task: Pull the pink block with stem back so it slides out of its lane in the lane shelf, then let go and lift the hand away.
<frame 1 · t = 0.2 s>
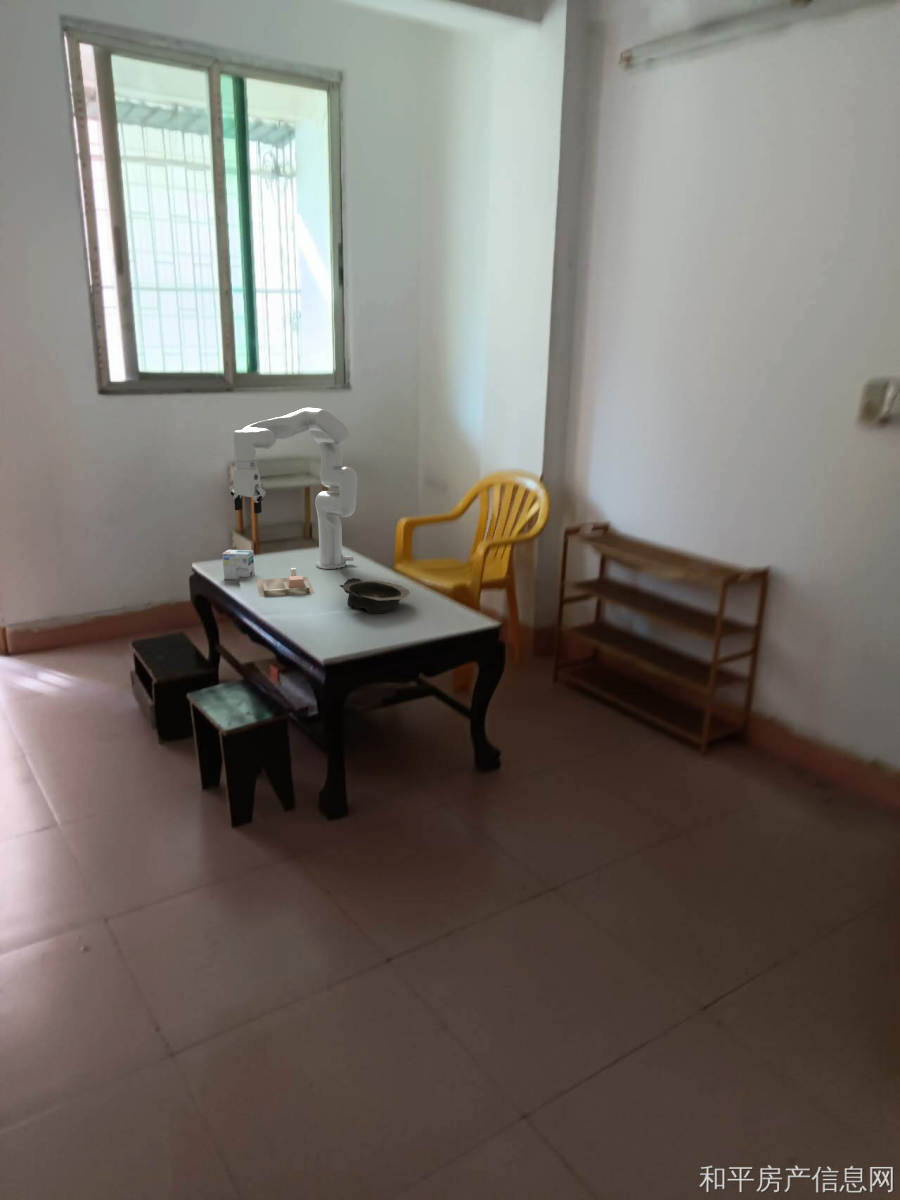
hand: (248, 511, 304), 31 cm above the table, tool pointing down, fingers open, 9 cm apart
pink block with stem: (296, 590, 309), point 1 cm above the table, touching lane shelf
lane shelf: (285, 591, 313), on the table
stone bowl: (376, 607, 297), on the table
light bulb box: (239, 578, 330), on the table
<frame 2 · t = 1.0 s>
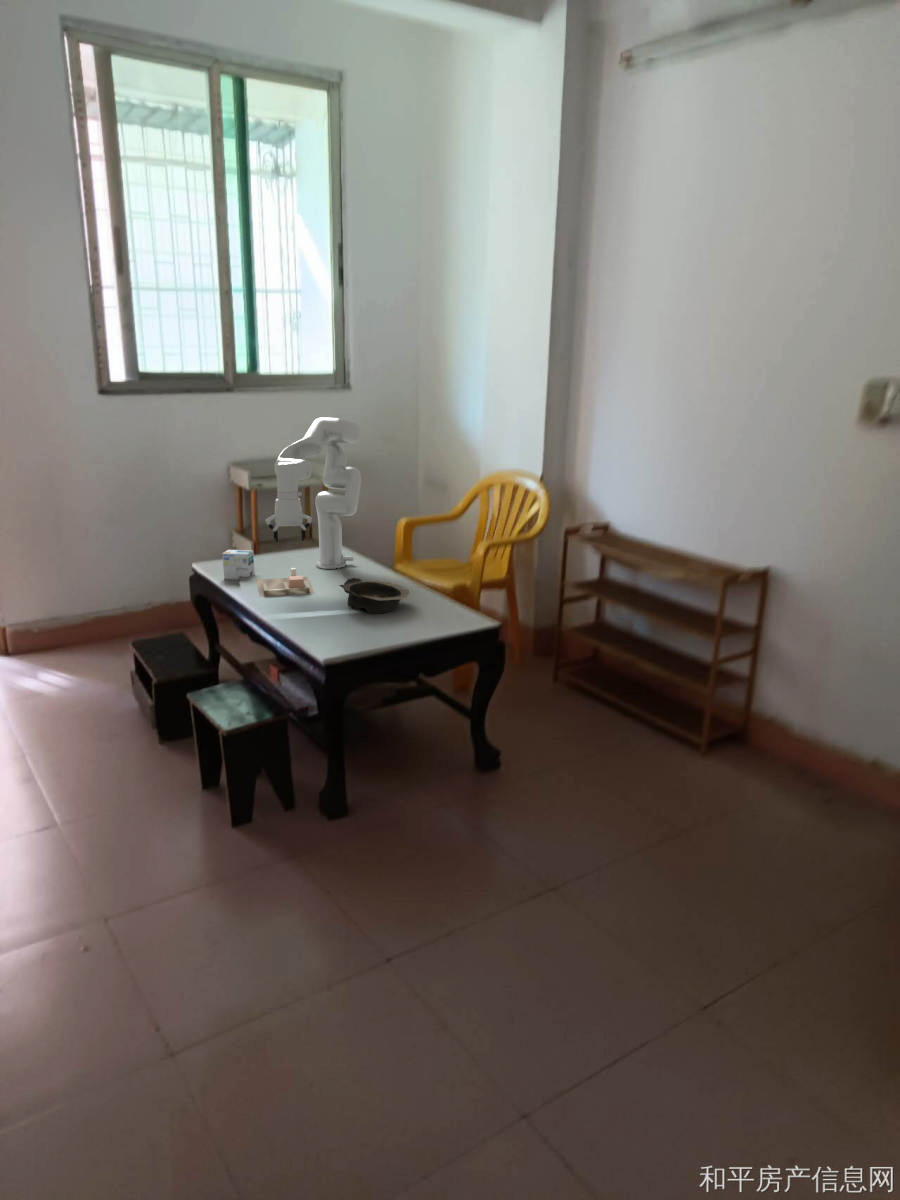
hand: (289, 540, 312), 19 cm above the table, tool pointing down, fingers open, 9 cm apart
nothing on the table moved.
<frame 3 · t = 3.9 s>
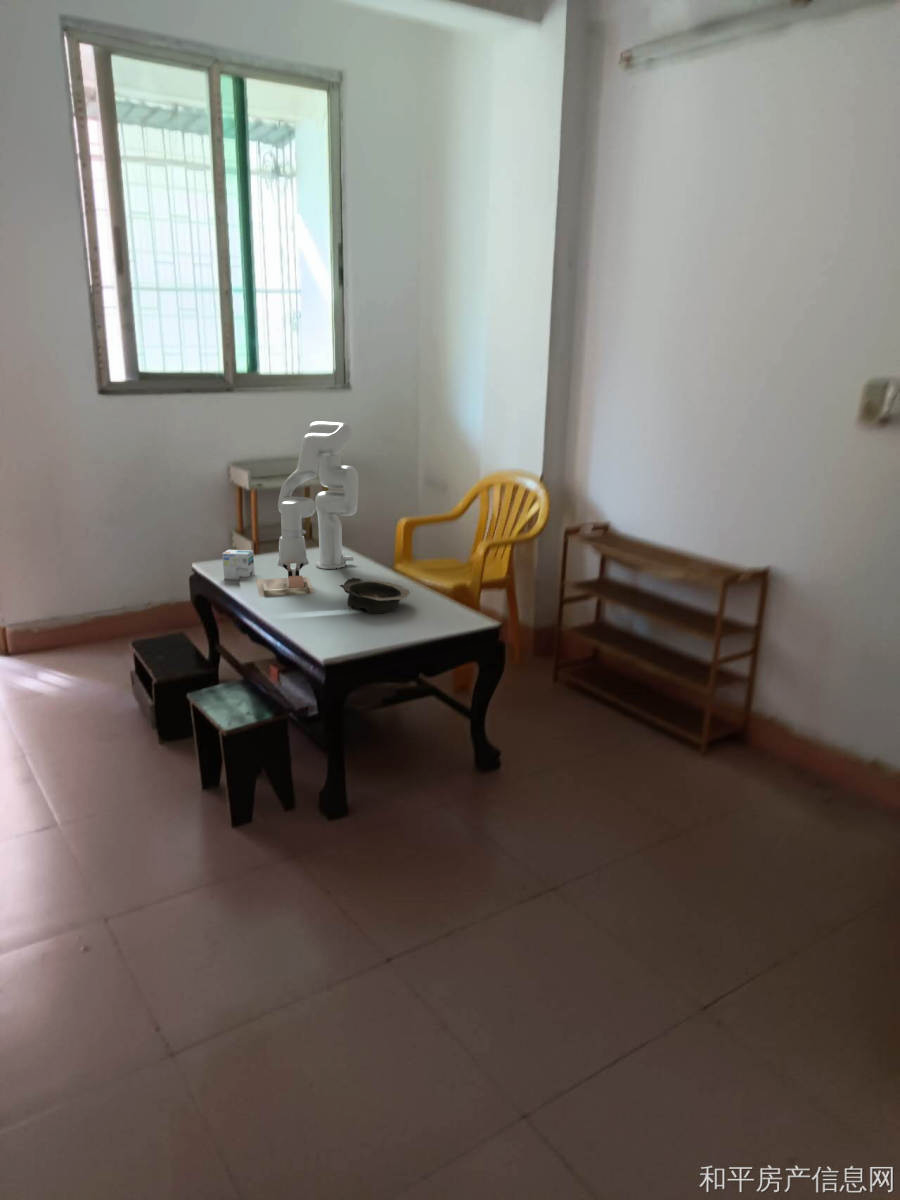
hand: (293, 580, 317), 3 cm above the table, tool pointing down, fingers closed on pink block with stem
pink block with stem: (296, 590, 309), point 1 cm above the table, touching gripper, lane shelf
everything else where it was.
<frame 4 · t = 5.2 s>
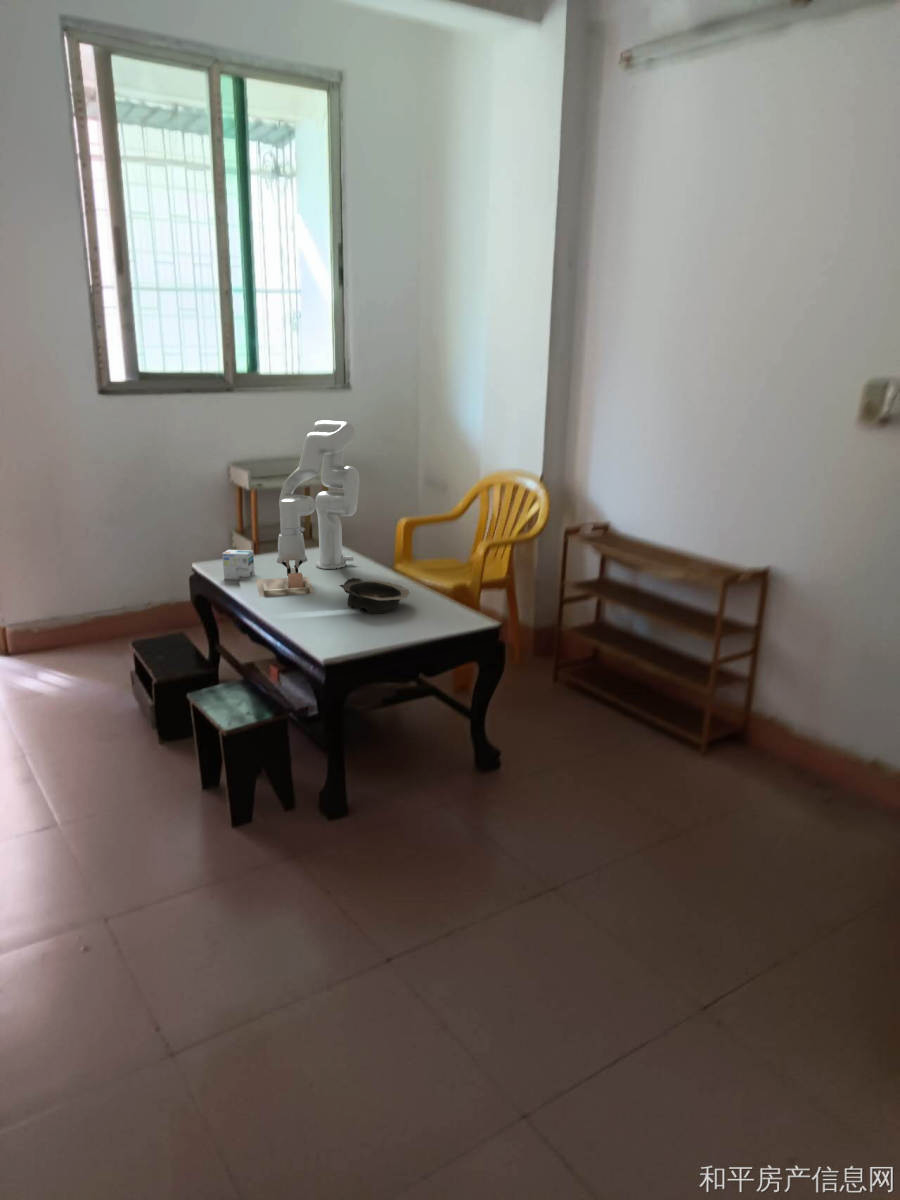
hand: (292, 576, 321), 3 cm above the table, tool pointing down, fingers closed, pressing on pink block with stem
pink block with stem: (296, 587, 312), point 2 cm above the table, tilted 6°, touching gripper, lane shelf
everything else where it was.
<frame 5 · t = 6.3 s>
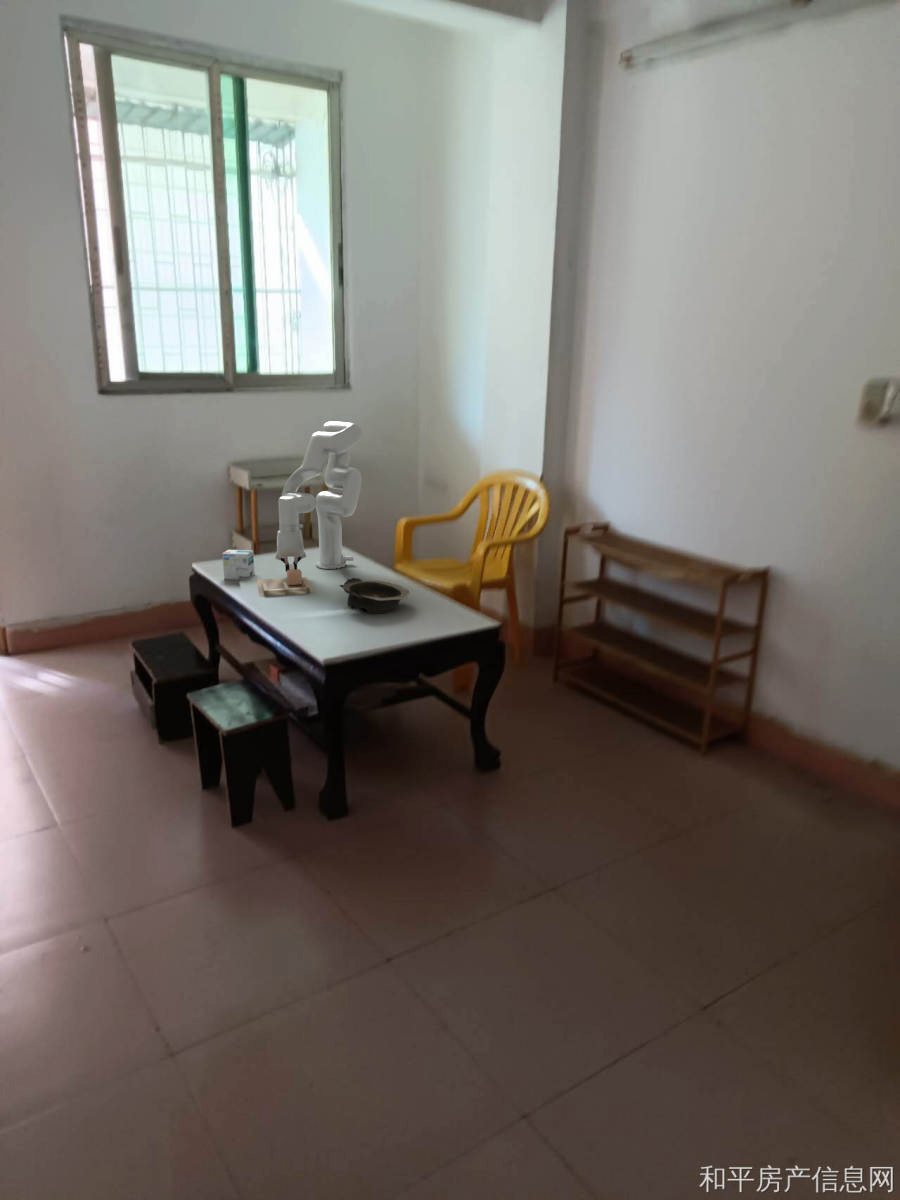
hand: (291, 572, 327), 3 cm above the table, tool pointing down, fingers closed on pink block with stem
pink block with stem: (294, 583, 317), point 2 cm above the table, tilted 7°, touching gripper
everything else where it was.
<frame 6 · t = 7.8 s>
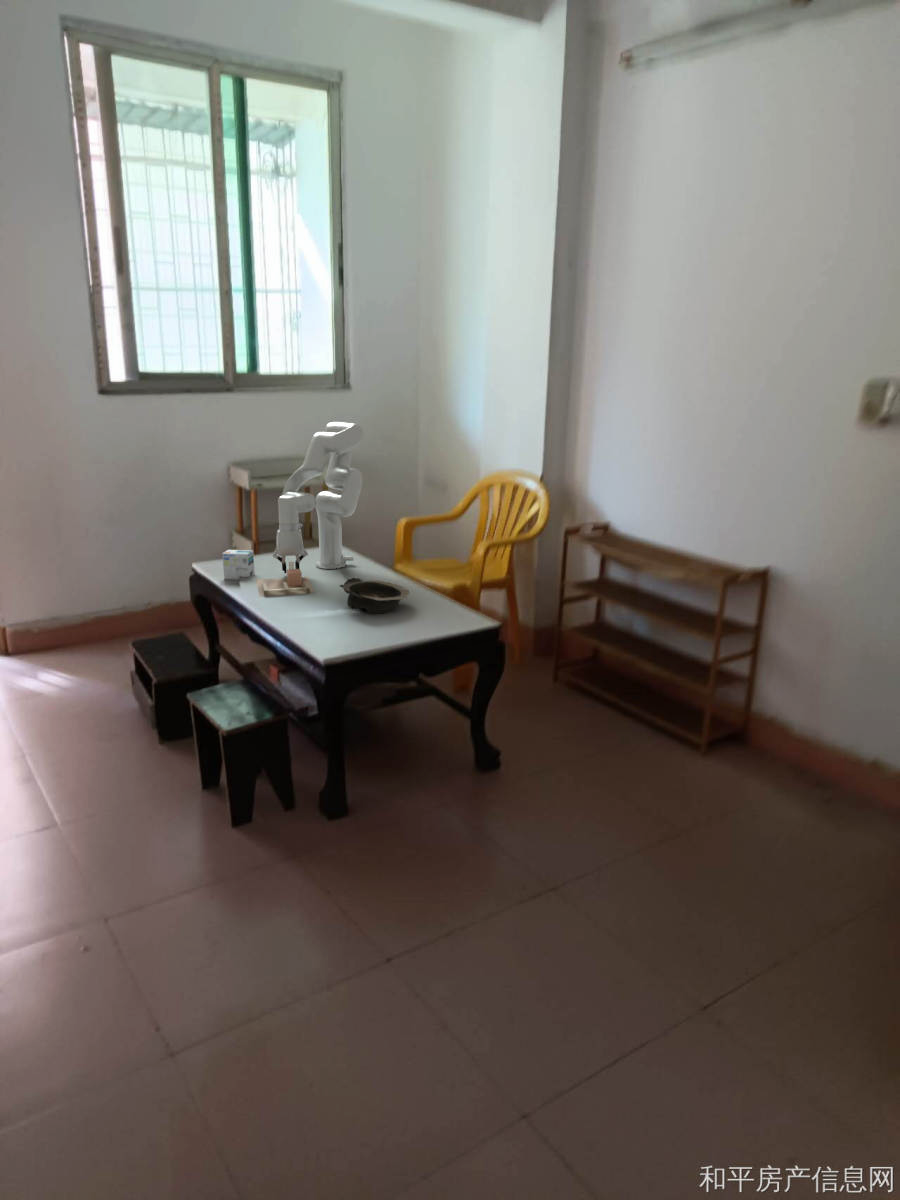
hand: (291, 571, 328), 3 cm above the table, tool pointing down, fingers open, 3 cm apart
pink block with stem: (294, 583, 318), point 1 cm above the table, touching lane shelf
everything else where it was.
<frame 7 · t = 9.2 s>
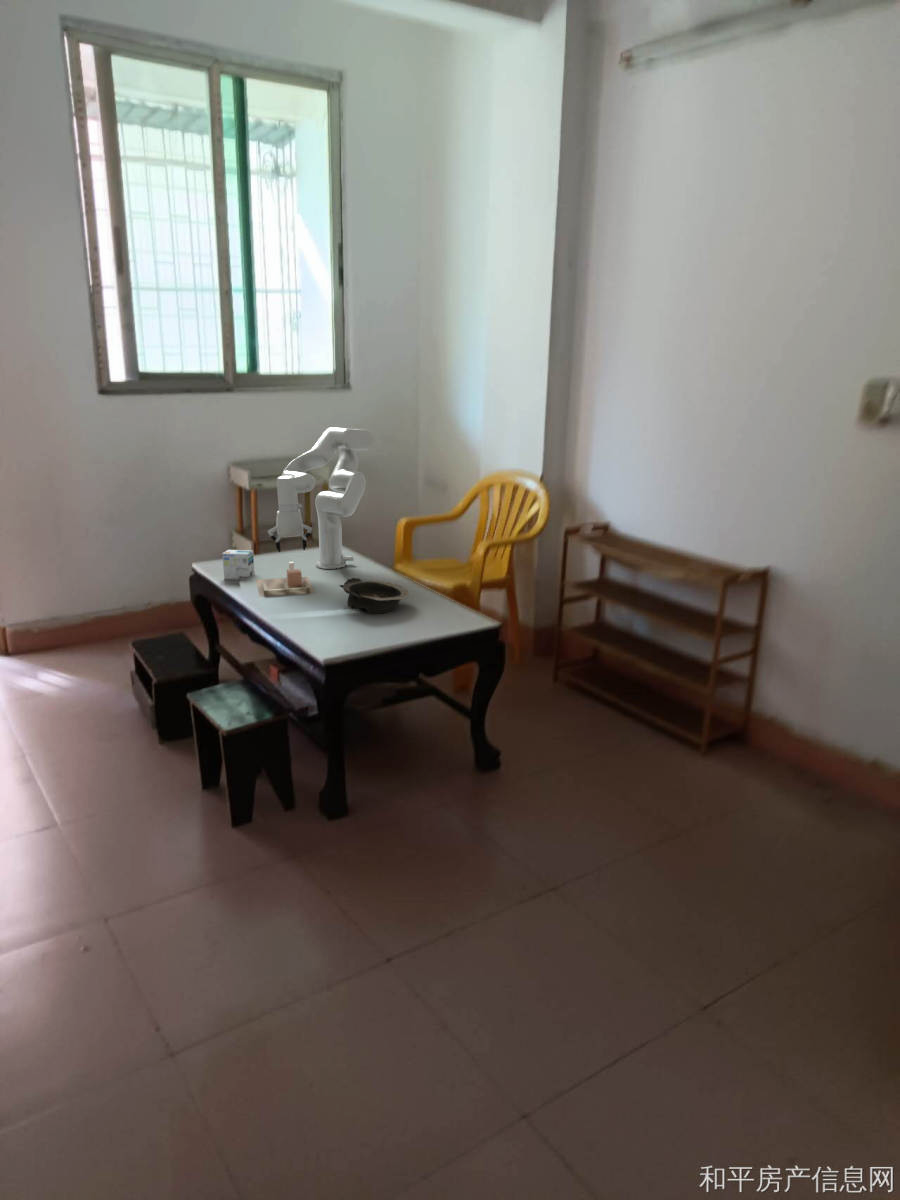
hand: (291, 550, 326), 12 cm above the table, tool pointing down, fingers open, 9 cm apart
nothing on the table moved.
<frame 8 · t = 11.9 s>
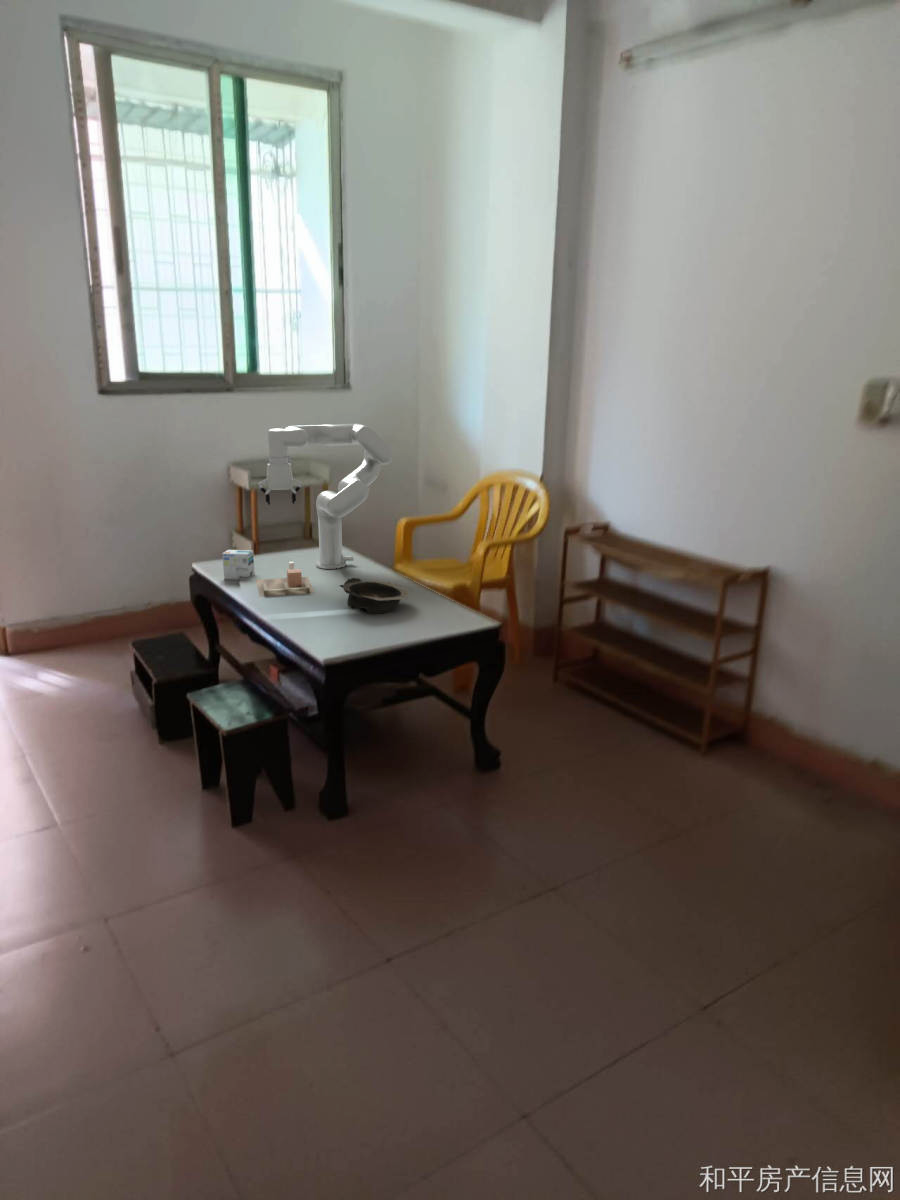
hand: (281, 503, 330), 28 cm above the table, tool pointing down, fingers open, 9 cm apart
nothing on the table moved.
at the end: pink block with stem inside the target area (2.8 cm from its centre), point 1.5 cm above the table; pink block with stem tilted 0°; the gripper is holding nothing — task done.
